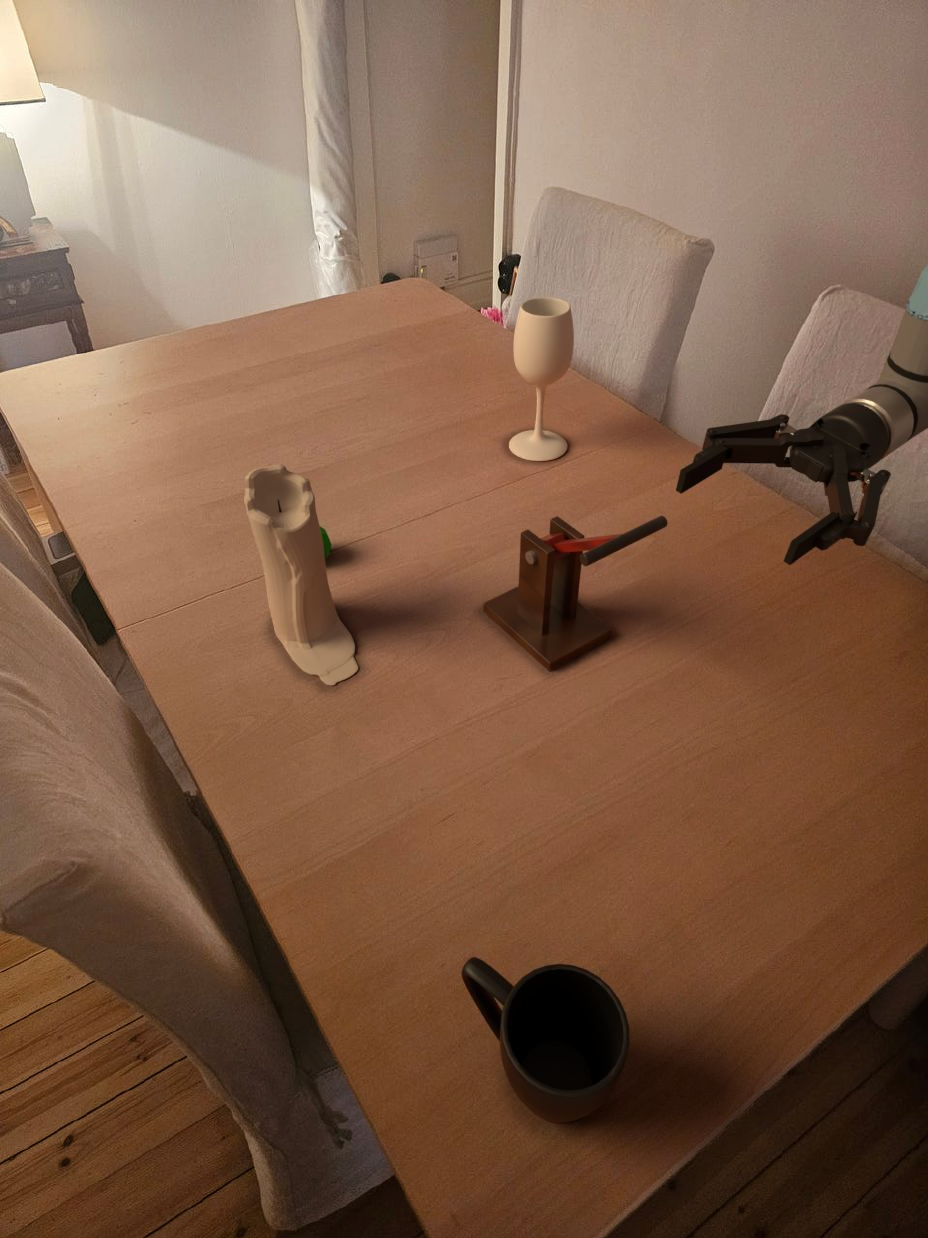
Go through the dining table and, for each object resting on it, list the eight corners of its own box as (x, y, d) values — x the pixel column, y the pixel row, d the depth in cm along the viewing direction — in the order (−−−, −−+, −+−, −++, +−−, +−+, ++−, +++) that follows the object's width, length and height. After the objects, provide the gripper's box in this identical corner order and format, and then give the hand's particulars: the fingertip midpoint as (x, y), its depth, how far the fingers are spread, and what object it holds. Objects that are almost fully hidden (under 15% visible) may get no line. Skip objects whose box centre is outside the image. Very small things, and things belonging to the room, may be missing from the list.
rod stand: (611, 637, 92) (624, 546, 83) (549, 671, 88) (556, 580, 79) (542, 582, 99) (548, 493, 91) (483, 611, 95) (483, 521, 87)
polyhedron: (289, 552, 104) (283, 521, 101) (327, 543, 105) (322, 512, 102) (298, 575, 101) (292, 544, 97) (337, 566, 102) (333, 535, 99)
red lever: (671, 532, 77) (663, 508, 77) (591, 572, 73) (583, 547, 73) (583, 542, 90) (576, 521, 89) (511, 576, 86) (503, 555, 85)
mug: (502, 966, 65) (504, 906, 58) (635, 1070, 59) (654, 1016, 53) (434, 1053, 60) (428, 998, 54) (572, 1174, 54) (584, 1129, 48)
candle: (314, 694, 86) (283, 542, 73) (265, 619, 95) (229, 470, 81) (375, 667, 89) (356, 515, 75) (321, 597, 98) (296, 449, 84)
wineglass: (497, 450, 122) (499, 310, 107) (528, 425, 127) (534, 288, 112) (548, 468, 118) (557, 325, 104) (577, 441, 123) (590, 302, 109)
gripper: (949, 519, 86) (829, 614, 77) (756, 411, 99) (635, 483, 90) (982, 461, 81) (857, 557, 72) (774, 355, 93) (646, 426, 85)
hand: (733, 516), depth 81 cm, fingers open, 13 cm apart
